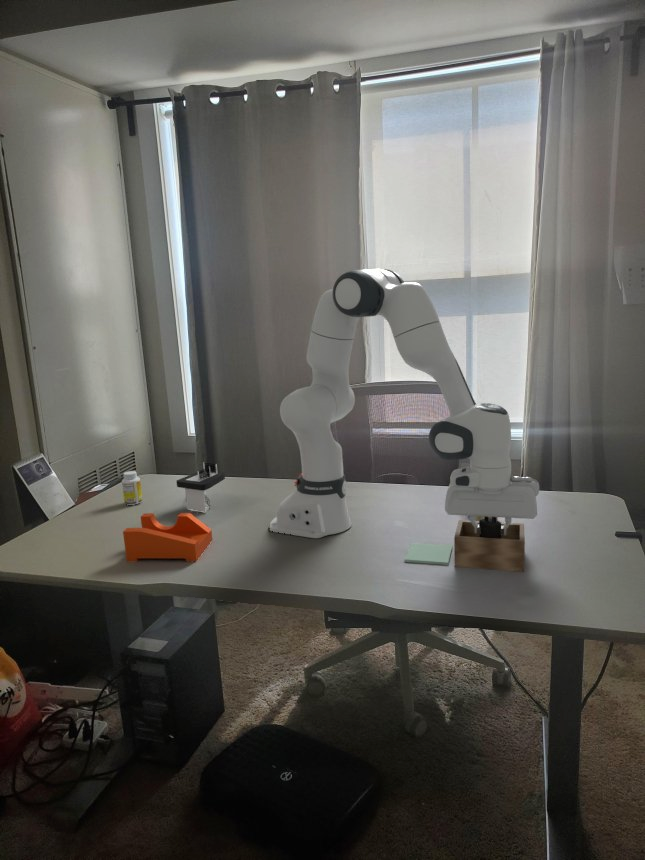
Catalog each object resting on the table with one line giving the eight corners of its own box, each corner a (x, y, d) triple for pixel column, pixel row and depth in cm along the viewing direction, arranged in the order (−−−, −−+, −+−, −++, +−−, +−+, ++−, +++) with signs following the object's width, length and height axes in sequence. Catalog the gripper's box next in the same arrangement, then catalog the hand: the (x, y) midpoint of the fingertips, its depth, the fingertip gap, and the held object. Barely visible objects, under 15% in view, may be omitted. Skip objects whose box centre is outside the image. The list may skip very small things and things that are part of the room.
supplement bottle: (139, 499, 201) (135, 469, 199) (145, 503, 197) (141, 472, 195) (122, 503, 198) (118, 472, 196) (128, 507, 193) (124, 476, 191)
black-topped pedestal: (209, 530, 171) (205, 484, 168) (141, 518, 184) (136, 475, 182) (267, 499, 195) (264, 459, 192) (203, 490, 208) (199, 452, 205)
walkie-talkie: (503, 560, 141) (502, 497, 138) (492, 564, 140) (491, 501, 137) (487, 553, 145) (486, 492, 142) (477, 557, 144) (475, 496, 141)
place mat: (404, 561, 144) (404, 559, 144) (411, 544, 153) (411, 542, 153) (448, 565, 141) (448, 562, 141) (452, 547, 150) (452, 545, 150)
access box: (454, 566, 140) (454, 537, 138) (458, 547, 150) (458, 520, 148) (524, 571, 135) (524, 541, 134) (523, 551, 145) (524, 523, 144)
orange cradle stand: (127, 563, 153) (122, 531, 151) (147, 542, 165) (144, 513, 163) (196, 563, 150) (193, 531, 148) (212, 542, 162) (209, 512, 161)
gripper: (539, 473, 138) (538, 531, 141) (446, 470, 144) (447, 526, 147) (539, 481, 132) (538, 542, 135) (443, 478, 138) (444, 536, 141)
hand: (490, 533), depth 141 cm, fingers closed on walkie-talkie, 4 cm apart
